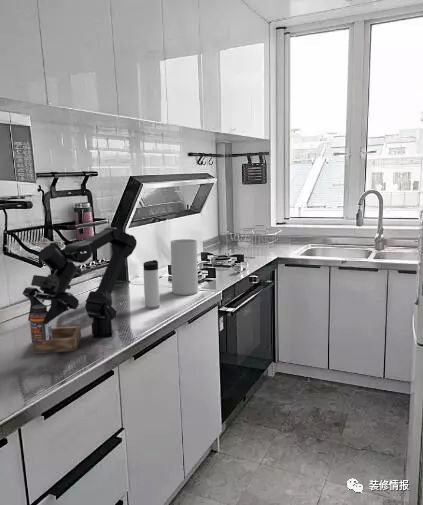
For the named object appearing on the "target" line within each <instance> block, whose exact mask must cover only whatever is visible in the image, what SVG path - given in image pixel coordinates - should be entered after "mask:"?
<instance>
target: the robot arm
mask: <svg viewBox="0 0 423 505" xmlns="http://www.w3.org/2000/svg"><path fill="white" fill-rule="evenodd" d="M108 243H109V244H111V246H110V248H111V252H112V253H111V254H112V255H111V257H110V258H109V261H108V264H107V265H106V269H105V271H104V273H103V275H102V277H101V281H100V282H99V286H98V288H97V289H96V290H95V291H93V290H90V291H89V293H88V295H87V298H86V299H85V302H86V303H85V305H84V308H85V311H86V313H87V316H88V318H89V319H92V322H91V335H92V337H93V338H106V337H112V336H113V334H114V329H113V320H114V319H115V318H117V312H118V311H117V310H116V309H115V308H114V307H113V306H112V305H113V298H112V293H113V291H114V287H115V285H116V283H117V280H118V279H119V278H118V277H119V275H120V273H121V271H122V268H123V267H124V266H123V265H124V263H125V261H126V259H127V258H128V257H130V256H131V255H132V254H133V252H134V251H135V249H136V247H137V239H136V237H135V236H134V235H132V234H129V233H127V232H124V231H122V230H120V229H119V228H117V227H111V226H110V227H105V228H103V230H101V231H99V232H97V233H95V234H93V235H92V236H91V237H89V238H87V239H85V240H83V241H78V242H73V243H70V244H67V245H65V247H64V248H61V247H60V246H59V245H58V243H57V242H50V244H49V245H46V246H45V247H43V248H42V249H40V251H39V253H38V259H39V260H40V261H41V262H42V263H44V265H46V267H48V268H49V269H50V270H51V271H54V273H53V274H50V273H49V274H48V275H47V276H45V275H38V274H37V275H36V274H33V276H32V280H31V283H30V286H33V287H30V286H27V287H25V288H24V290H23V292H22V295H23V296H25V297H26V298H27V299H28V300H29V301H30V308H29V313H28V318H27V320H28V321H29V322H30V315H31V314H32V313H33V311H32V310H33V309H32V307H33V306H35V305H41V304H43V305H45V304H44V302H45V301H50V307H49V309H48V310H47V311H48V313H47V315H46V317H45V319H44V321H43V323H44V324H47V323H49V322H50V321H51V322H52V321H53V320H54V319H56V318H57V317H58V316H59V317H60V315H62V314H63V313H65V312H68V311H69V310H70V309H71V310H77V309H78V306H79V305H80V301H79V299H78V298H77V297H75V296H74V294H73V293H71V292H67V290H70V289H71V288H72V287H71V285H70V284H71V282H72V280H73V279H74V277H75V275H81V274H82V271H81V268H80V265H76V264H75V263H77V264H84V263H86V262H87V261H89V259H90V258H91V257H92V255H93V253H94V252H95V251H97V250H98V249H100V248H102V247H105V245H107V244H108ZM37 287H38V288H39V289H38V288H37Z"/></svg>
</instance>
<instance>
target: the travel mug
mask: <svg viewBox="0 0 423 505" xmlns="http://www.w3.org/2000/svg"><path fill="white" fill-rule="evenodd" d="M142 264H143V265H142V266H143V287H144V288H143V289H144V290H143V291H144V293H143V294H144V308H145V309H146V310H157V309H159V308H160V306H161V305H160V280H159V279H160V278H159V273H160V272H159V262H158V260H157V259H153V260H149V261H144V262H143V263H142Z"/></svg>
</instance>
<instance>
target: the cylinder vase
mask: <svg viewBox="0 0 423 505" xmlns="http://www.w3.org/2000/svg"><path fill="white" fill-rule="evenodd" d="M170 267H171V291H172V294H174V295H177V296H189V295H190V296H191V295H194V294H197V293H198V292H199V279H198V277H199V273H198V271H199V270H198V240H197V239H191V238H189V239H186V238H185V239H174V240H171V241H170Z"/></svg>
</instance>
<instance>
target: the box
mask: <svg viewBox="0 0 423 505" xmlns="http://www.w3.org/2000/svg"><path fill="white" fill-rule="evenodd" d="M51 328H52V341H51V342H50V343H47V344H44V345H35V344H33V343H32V347H33V348H32V350H33V354H44V353H45V354H47V353H61V352H62V353H63V352H77V349H78V347H79V344H80V341H81V338H82V330H81V329H82V328H81V326H79V325H78V326H63V327H62V326H61V327H59V326H58V327H51Z"/></svg>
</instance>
